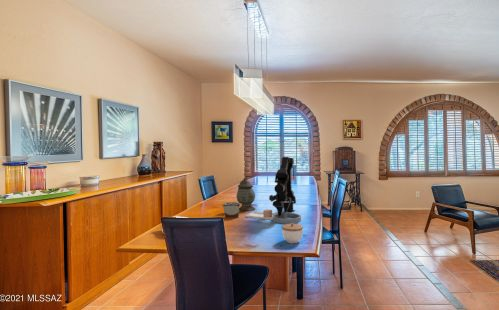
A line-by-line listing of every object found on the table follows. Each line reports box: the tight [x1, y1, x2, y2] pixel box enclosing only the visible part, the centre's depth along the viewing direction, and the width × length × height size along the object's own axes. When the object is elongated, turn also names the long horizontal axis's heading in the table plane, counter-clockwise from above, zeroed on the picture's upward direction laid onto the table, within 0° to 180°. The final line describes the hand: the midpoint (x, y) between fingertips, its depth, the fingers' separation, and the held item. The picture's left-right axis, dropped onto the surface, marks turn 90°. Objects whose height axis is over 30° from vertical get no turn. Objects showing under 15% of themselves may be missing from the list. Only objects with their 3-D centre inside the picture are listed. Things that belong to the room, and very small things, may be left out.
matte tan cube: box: [263, 209, 273, 218], centre depth 208 cm, size 4×4×4 cm
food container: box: [222, 201, 241, 219], centre depth 211 cm, size 12×6×10 cm, turn 84°
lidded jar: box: [281, 223, 304, 244], centre depth 155 cm, size 11×11×9 cm
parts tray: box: [244, 211, 277, 221], centre depth 210 cm, size 13×19×2 cm
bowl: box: [272, 212, 302, 224], centre depth 198 cm, size 18×18×3 cm
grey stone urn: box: [236, 177, 257, 212], centre depth 233 cm, size 14×14×25 cm
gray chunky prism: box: [277, 211, 288, 219], centre depth 200 cm, size 4×4×4 cm
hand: (282, 214), depth 200 cm, fingers open, 9 cm apart
